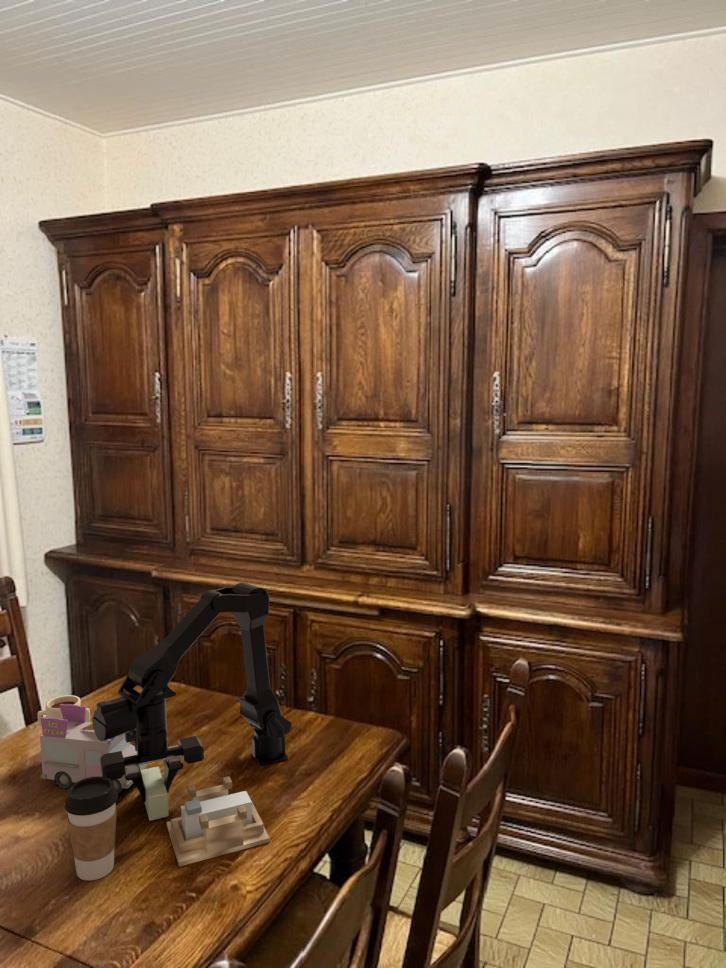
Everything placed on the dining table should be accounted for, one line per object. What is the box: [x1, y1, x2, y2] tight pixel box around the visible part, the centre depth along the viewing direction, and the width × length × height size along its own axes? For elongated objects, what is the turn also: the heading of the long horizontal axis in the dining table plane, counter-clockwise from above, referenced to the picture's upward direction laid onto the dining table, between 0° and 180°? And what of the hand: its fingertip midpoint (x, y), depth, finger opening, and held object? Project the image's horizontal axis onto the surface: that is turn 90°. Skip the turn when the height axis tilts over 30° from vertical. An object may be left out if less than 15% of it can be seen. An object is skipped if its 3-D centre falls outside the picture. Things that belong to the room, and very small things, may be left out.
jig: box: [166, 776, 271, 867], centre depth 131 cm, size 16×13×7 cm
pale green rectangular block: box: [141, 766, 170, 821], centre depth 140 cm, size 4×11×4 cm, turn 24°
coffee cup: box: [63, 776, 119, 881], centre depth 121 cm, size 8×8×15 cm
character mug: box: [37, 694, 91, 726], centre depth 158 cm, size 11×7×13 cm, turn 98°
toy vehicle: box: [39, 704, 148, 795], centre depth 148 cm, size 9×20×15 cm, turn 78°
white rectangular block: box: [180, 790, 253, 841], centre depth 131 cm, size 12×4×6 cm, turn 114°
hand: (154, 798), depth 140 cm, fingers closed on pale green rectangular block, 3 cm apart
